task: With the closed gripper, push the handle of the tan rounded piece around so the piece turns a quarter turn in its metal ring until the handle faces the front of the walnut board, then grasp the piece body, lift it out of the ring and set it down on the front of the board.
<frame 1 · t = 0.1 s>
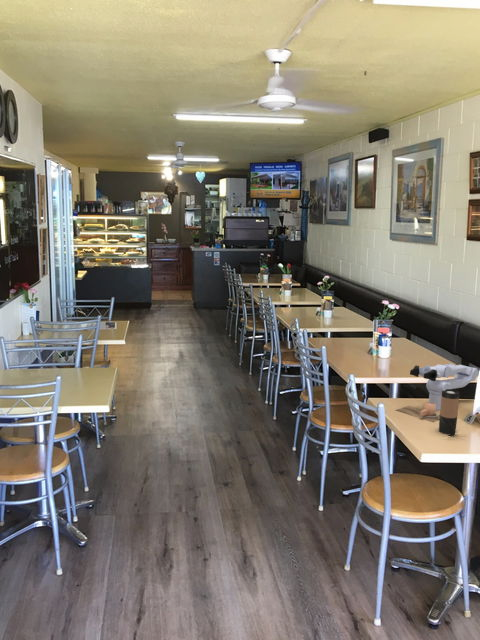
hand: (417, 374, 299), 22 cm above the table, tool horizontal, fingers open, 7 cm apart
tan rounded piece: (429, 416, 301), point 1 cm above the table, touching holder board
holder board: (420, 415, 304), on the table
travel mug: (446, 434, 280), on the table
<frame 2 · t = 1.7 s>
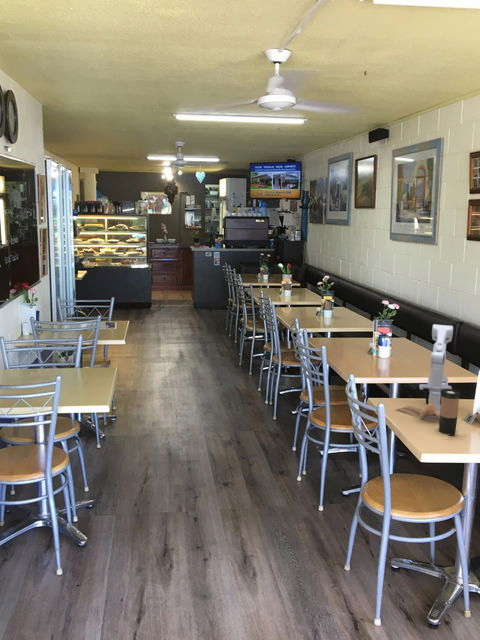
hand: (434, 404, 292), 9 cm above the table, tool pointing down, fingers open, 6 cm apart
nothing on the table moved.
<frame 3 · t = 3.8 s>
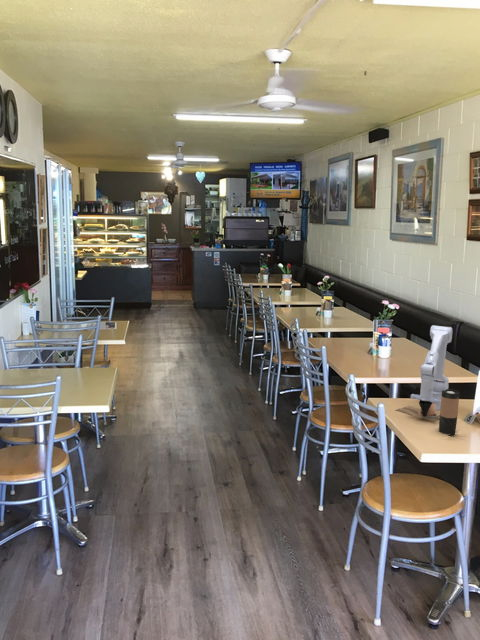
hand: (424, 415, 295), 3 cm above the table, tool pointing down, fingers closed
tan rounded piece: (429, 416, 300), point 1 cm above the table, touching gripper, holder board
everything else where it was.
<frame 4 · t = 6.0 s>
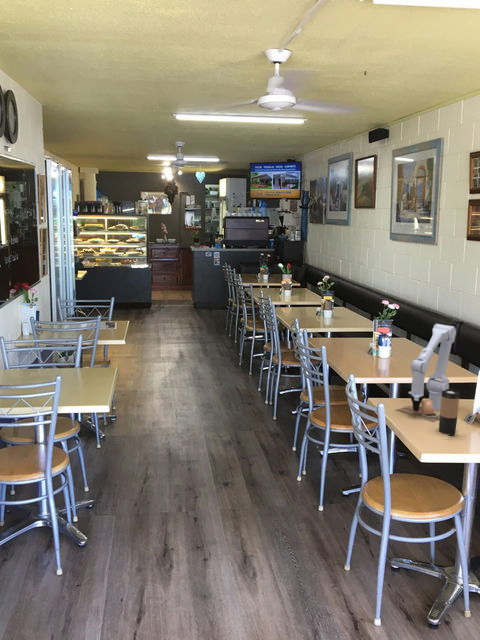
hand: (415, 410, 302), 3 cm above the table, tool pointing down, fingers closed
tan rounded piece: (428, 414, 300), point 2 cm above the table, tilted 23°, touching gripper, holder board
everything else where it was.
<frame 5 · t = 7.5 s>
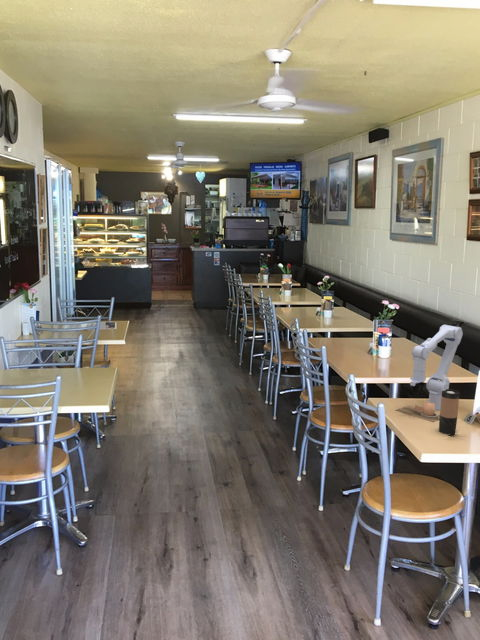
hand: (416, 397, 303), 9 cm above the table, tool pointing down, fingers closed
tan rounded piece: (428, 416, 300), point 1 cm above the table, touching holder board
everything else where it was.
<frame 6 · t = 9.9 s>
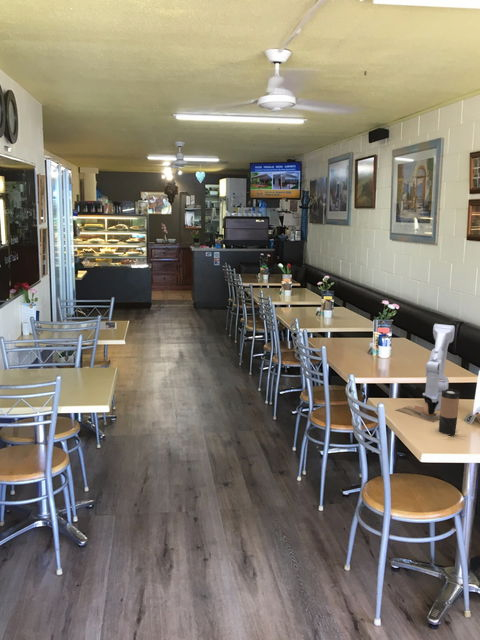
hand: (429, 412, 300), 3 cm above the table, tool pointing down, fingers closed on tan rounded piece, 5 cm apart
tan rounded piece: (428, 416, 301), point 1 cm above the table, touching gripper, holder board
everything else where it was.
when the fingers open (4 cm above the table, at t = 14.1 s): tan rounded piece stays where it is, resting on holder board.
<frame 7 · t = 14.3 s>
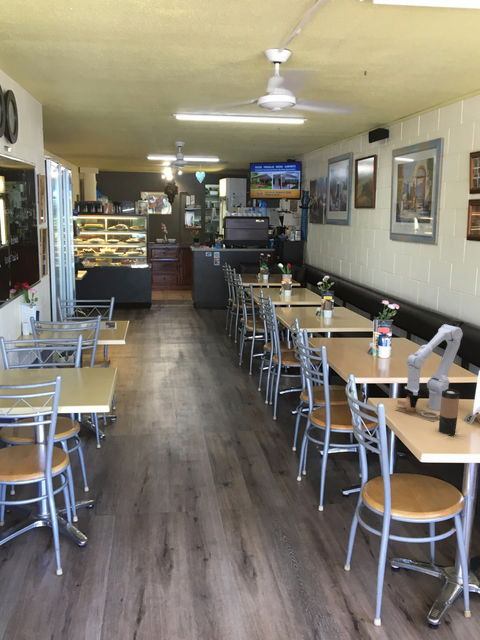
hand: (411, 405, 308), 4 cm above the table, tool pointing down, fingers open, 7 cm apart
tan rounded piece: (410, 410, 308), point 1 cm above the table, touching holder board
everything else where it was.
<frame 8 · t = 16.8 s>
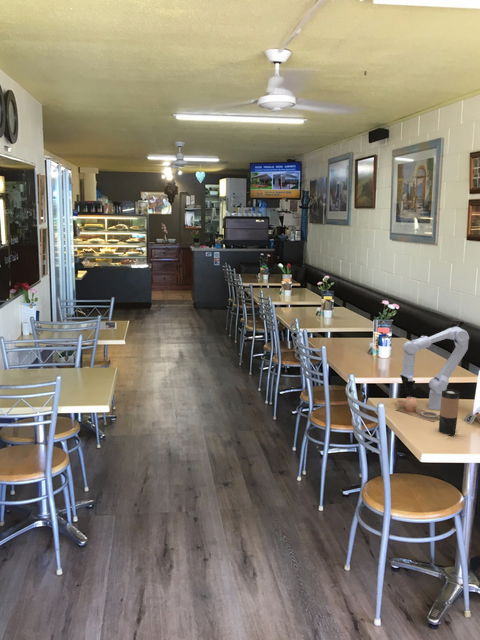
hand: (406, 391, 313), 9 cm above the table, tool pointing down, fingers open, 7 cm apart
nothing on the table moved.
at the end: tan rounded piece inside the target area (0.2 cm from its centre), point 1.0 cm above the table; tan rounded piece tilted 1°; the gripper is holding nothing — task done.
